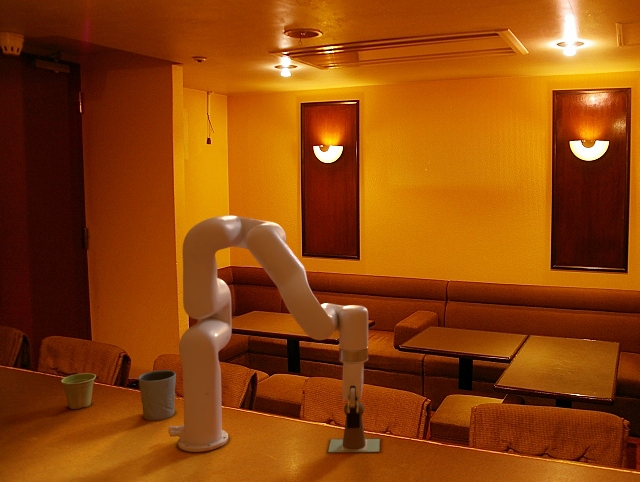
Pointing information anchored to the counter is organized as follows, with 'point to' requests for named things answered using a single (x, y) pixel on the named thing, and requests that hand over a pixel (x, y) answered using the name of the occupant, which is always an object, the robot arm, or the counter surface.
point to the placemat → (370, 446)
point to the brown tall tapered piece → (354, 432)
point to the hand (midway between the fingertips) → (354, 422)
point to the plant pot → (78, 389)
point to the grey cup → (158, 394)
